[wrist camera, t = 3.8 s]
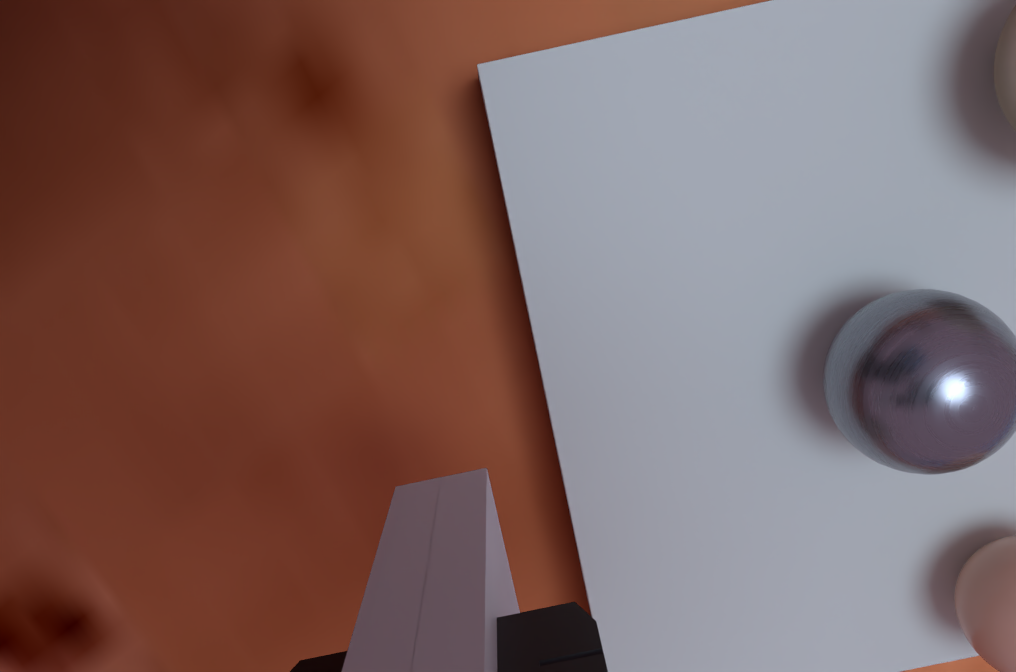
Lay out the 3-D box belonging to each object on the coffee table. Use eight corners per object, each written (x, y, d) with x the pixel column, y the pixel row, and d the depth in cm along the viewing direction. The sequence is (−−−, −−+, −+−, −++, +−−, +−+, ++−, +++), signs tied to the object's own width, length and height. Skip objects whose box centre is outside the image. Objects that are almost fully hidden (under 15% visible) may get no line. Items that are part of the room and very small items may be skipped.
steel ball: (806, 452, 18) (883, 523, 14) (785, 296, 17) (860, 331, 14) (967, 419, 18) (1082, 482, 14) (953, 261, 17) (1071, 287, 14)
